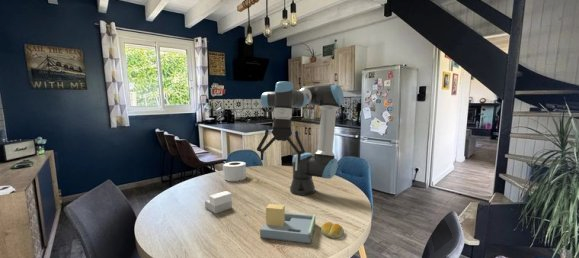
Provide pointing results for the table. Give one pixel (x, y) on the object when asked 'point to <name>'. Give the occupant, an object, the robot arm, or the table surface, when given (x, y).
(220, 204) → the foam block
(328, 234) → the bread roll
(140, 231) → the table surface
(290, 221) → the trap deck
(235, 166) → the roll of tape
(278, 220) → the ochre block
